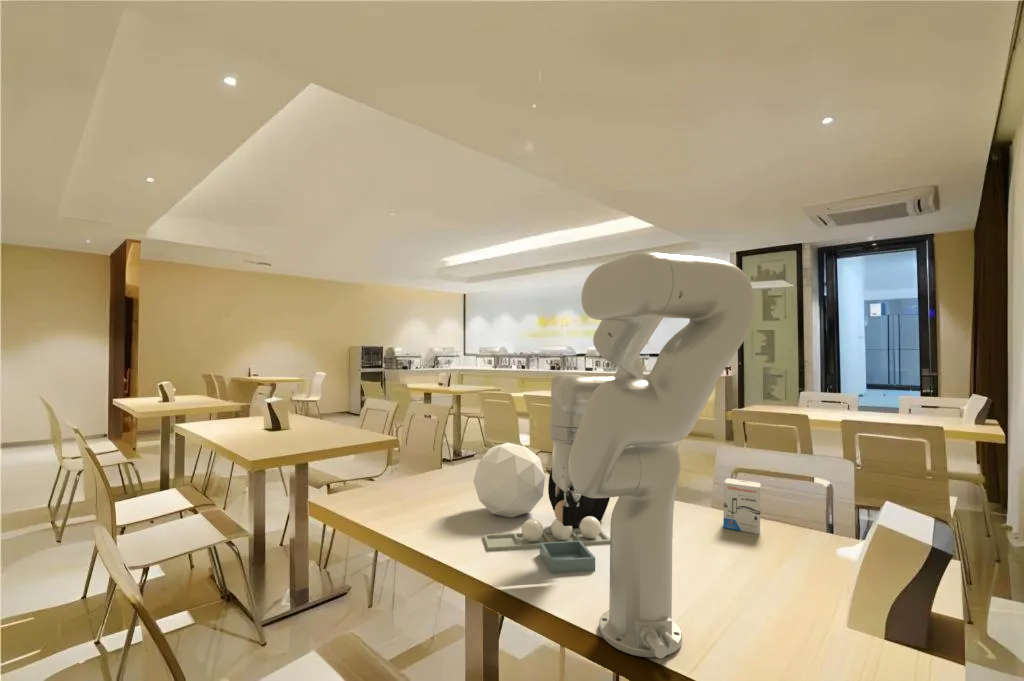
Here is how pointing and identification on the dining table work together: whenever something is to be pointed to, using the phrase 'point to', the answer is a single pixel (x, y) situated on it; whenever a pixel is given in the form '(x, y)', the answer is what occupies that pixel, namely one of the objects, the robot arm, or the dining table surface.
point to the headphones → (582, 503)
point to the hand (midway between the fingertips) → (566, 519)
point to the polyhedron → (509, 480)
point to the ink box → (742, 505)
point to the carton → (520, 543)
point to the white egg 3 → (590, 527)
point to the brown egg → (559, 511)
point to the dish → (567, 557)
